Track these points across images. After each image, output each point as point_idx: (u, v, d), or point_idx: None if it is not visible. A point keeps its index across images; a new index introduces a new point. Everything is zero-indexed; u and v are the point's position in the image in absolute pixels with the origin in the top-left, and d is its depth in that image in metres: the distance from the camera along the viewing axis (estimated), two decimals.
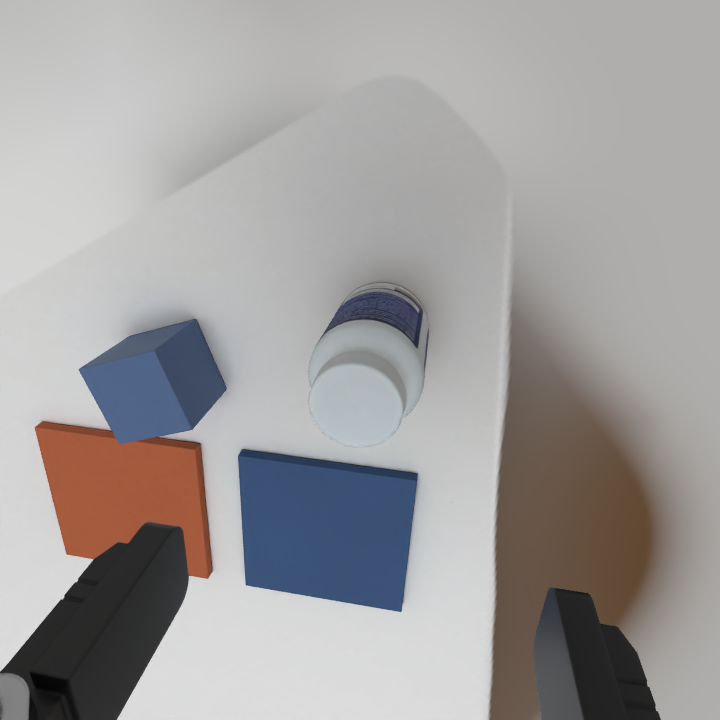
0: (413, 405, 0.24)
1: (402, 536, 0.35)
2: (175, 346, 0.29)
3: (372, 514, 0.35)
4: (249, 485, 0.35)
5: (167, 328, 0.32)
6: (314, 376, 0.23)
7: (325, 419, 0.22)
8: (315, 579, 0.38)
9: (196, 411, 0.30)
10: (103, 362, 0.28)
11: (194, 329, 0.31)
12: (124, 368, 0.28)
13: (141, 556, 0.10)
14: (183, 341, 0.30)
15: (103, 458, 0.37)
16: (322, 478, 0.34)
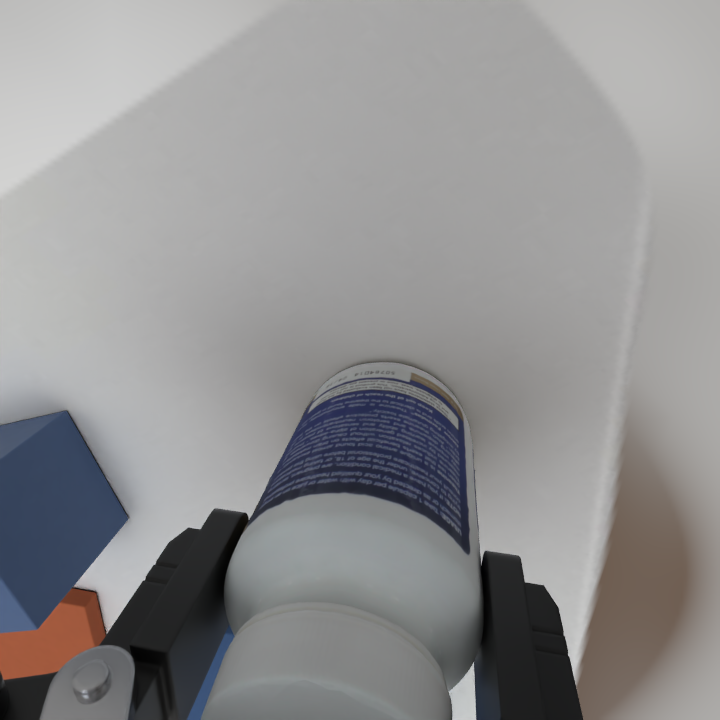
0: (459, 680, 0.10)
1: None
2: (8, 476, 0.16)
3: None
4: None
5: (17, 427, 0.18)
6: (233, 616, 0.10)
7: None
8: None
9: (52, 587, 0.17)
10: None
11: (60, 431, 0.18)
12: None
13: (216, 540, 0.11)
14: (30, 460, 0.17)
15: None
16: None
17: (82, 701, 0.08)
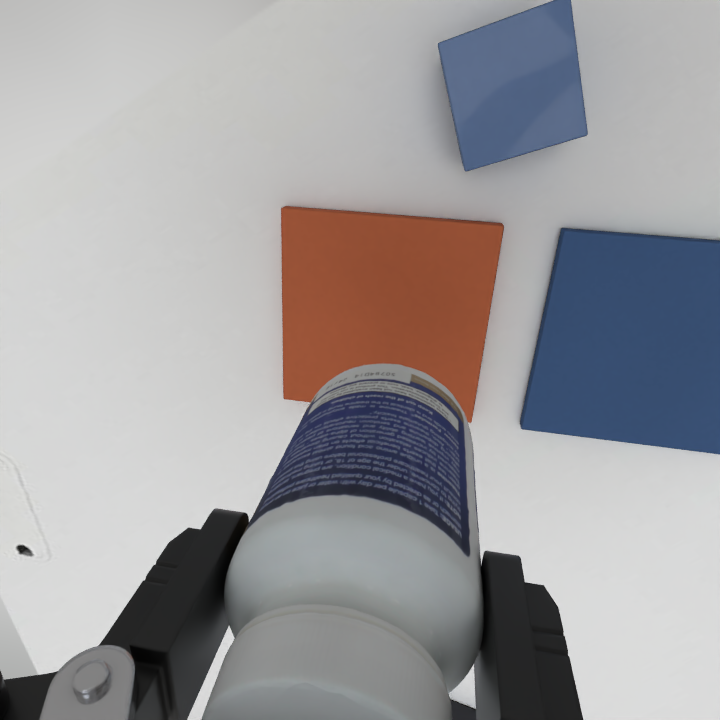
0: None
1: None
2: None
3: None
4: (568, 276, 0.27)
5: None
6: (233, 618, 0.10)
7: None
8: (623, 414, 0.30)
9: None
10: (478, 28, 0.20)
11: None
12: (513, 32, 0.20)
13: (216, 540, 0.11)
14: None
15: (369, 249, 0.28)
16: (679, 257, 0.26)
17: (82, 701, 0.08)
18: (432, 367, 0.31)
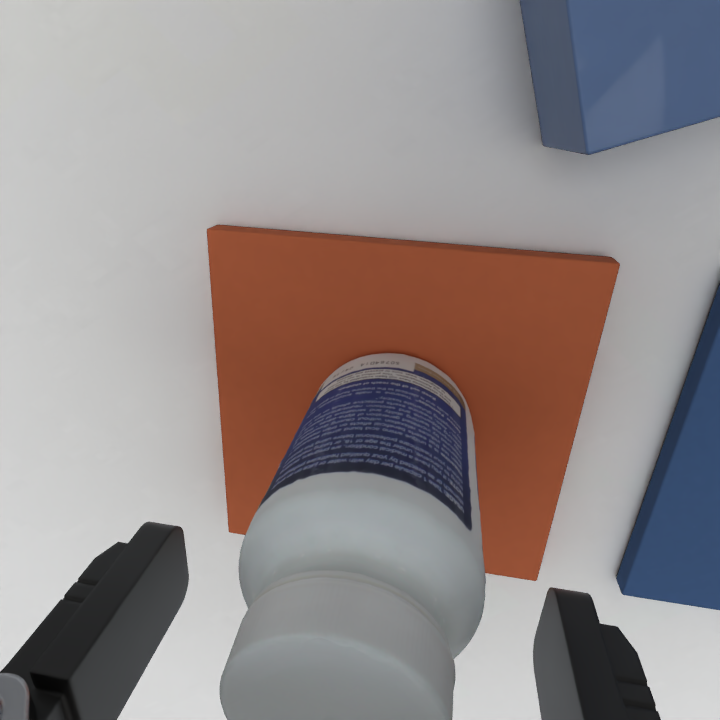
0: (462, 649, 0.11)
1: None
2: None
3: None
4: None
5: None
6: (248, 589, 0.11)
7: None
8: None
9: None
10: None
11: None
12: None
13: (141, 556, 0.10)
14: None
15: (365, 302, 0.16)
16: None
17: None
18: None
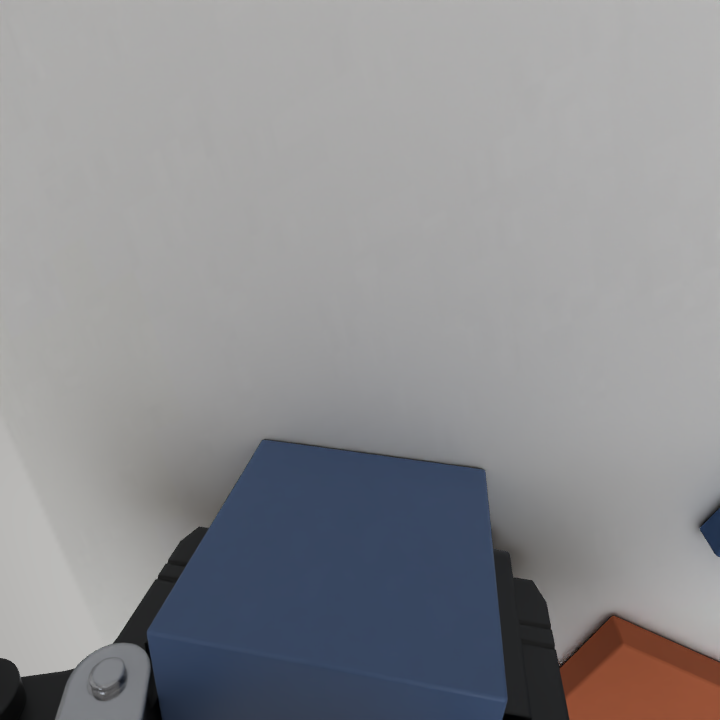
0: None
1: None
2: (233, 541, 0.09)
3: None
4: None
5: None
6: None
7: None
8: None
9: (460, 620, 0.08)
10: None
11: (272, 458, 0.11)
12: None
13: None
14: (255, 507, 0.10)
15: None
16: None
17: (99, 698, 0.08)
18: None
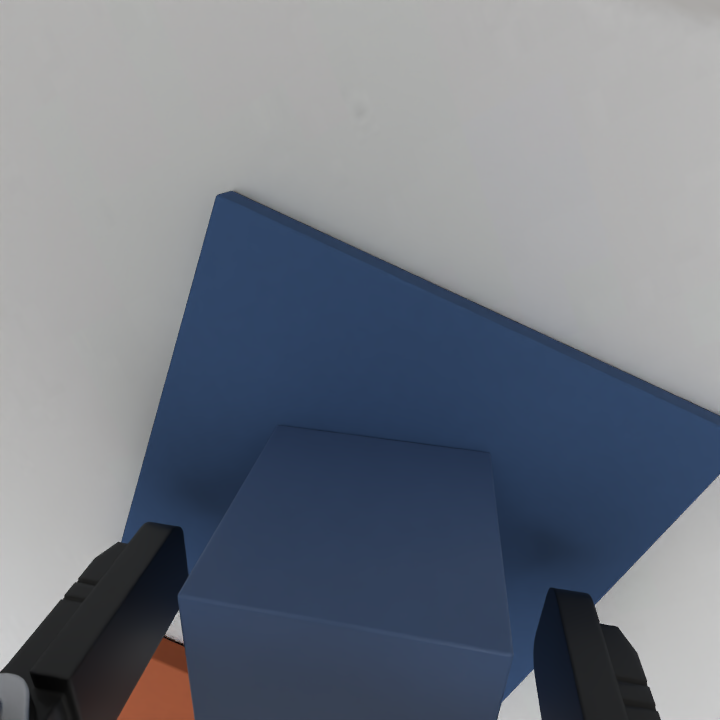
0: None
1: (421, 315, 0.11)
2: (254, 516, 0.09)
3: (317, 370, 0.12)
4: None
5: None
6: None
7: None
8: (508, 599, 0.13)
9: (468, 586, 0.08)
10: None
11: (287, 442, 0.12)
12: (220, 693, 0.09)
13: (141, 556, 0.10)
14: (273, 486, 0.10)
15: None
16: (182, 443, 0.13)
17: None
18: None
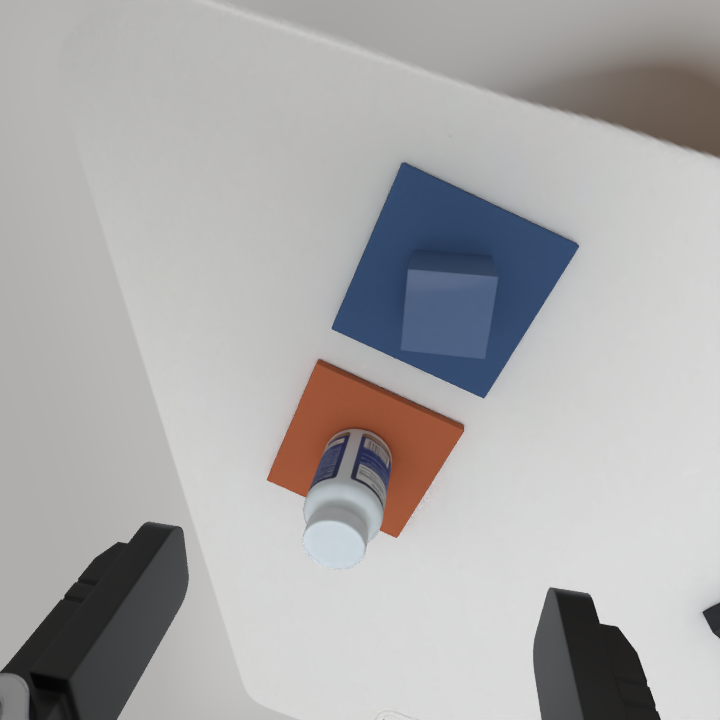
0: (368, 499, 0.33)
1: (469, 203, 0.32)
2: (419, 261, 0.30)
3: (431, 226, 0.33)
4: (365, 334, 0.36)
5: None
6: None
7: (337, 563, 0.32)
8: (499, 323, 0.34)
9: (486, 270, 0.29)
10: None
11: (420, 252, 0.33)
12: (414, 306, 0.30)
13: (141, 556, 0.10)
14: (421, 258, 0.31)
15: (306, 444, 0.41)
16: (374, 260, 0.34)
17: None
18: (406, 439, 0.39)
